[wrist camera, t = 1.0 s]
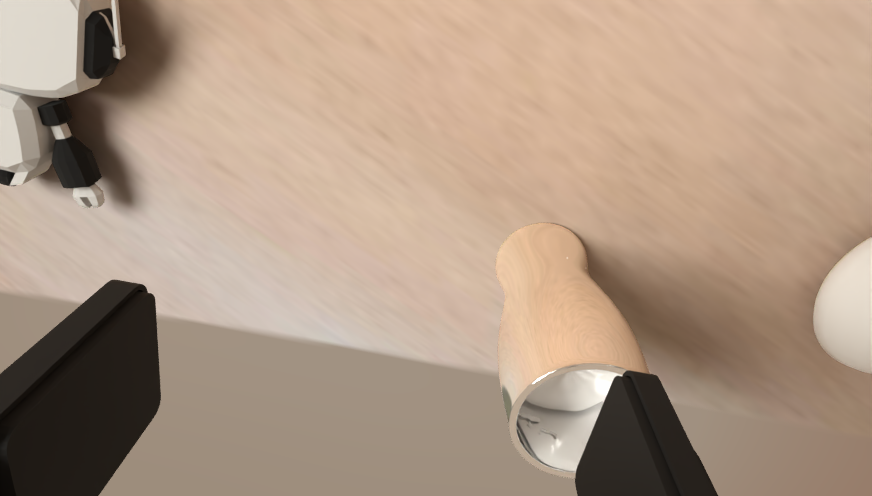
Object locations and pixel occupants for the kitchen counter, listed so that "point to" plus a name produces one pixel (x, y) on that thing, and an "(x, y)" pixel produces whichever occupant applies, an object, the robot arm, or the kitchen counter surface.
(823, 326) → the flower in vase
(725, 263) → the kitchen counter surface
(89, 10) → the robot toy
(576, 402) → the beer glass
